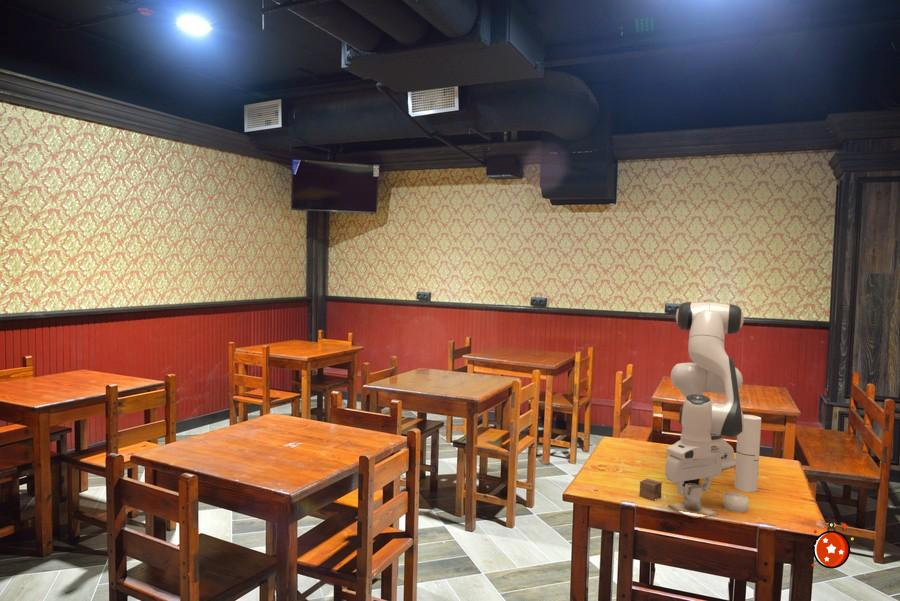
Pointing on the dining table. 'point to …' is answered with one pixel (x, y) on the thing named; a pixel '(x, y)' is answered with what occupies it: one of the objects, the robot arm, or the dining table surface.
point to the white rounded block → (735, 502)
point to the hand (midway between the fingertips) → (693, 492)
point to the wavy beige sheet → (703, 511)
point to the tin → (693, 497)
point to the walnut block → (650, 489)
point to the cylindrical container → (748, 455)
